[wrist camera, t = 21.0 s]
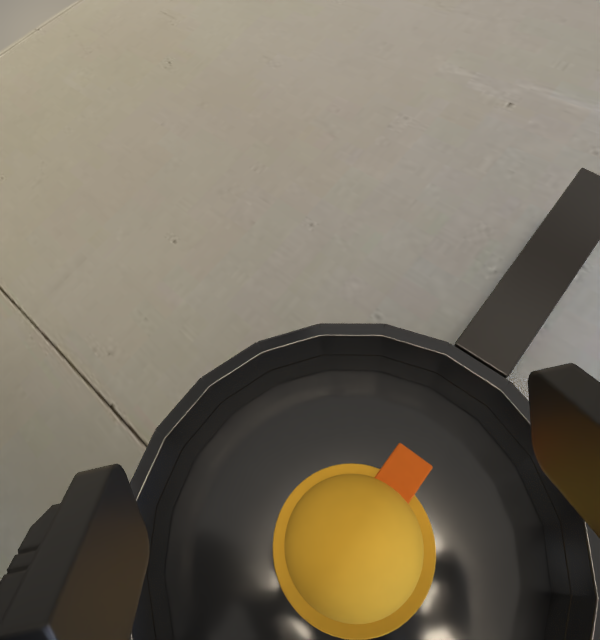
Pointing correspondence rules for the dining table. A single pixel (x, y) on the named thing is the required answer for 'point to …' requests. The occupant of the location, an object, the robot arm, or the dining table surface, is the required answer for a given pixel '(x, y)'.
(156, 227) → the dining table surface
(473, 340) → the pan handle
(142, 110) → the dining table surface
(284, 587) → the yellow duck figurine
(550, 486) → the pan
